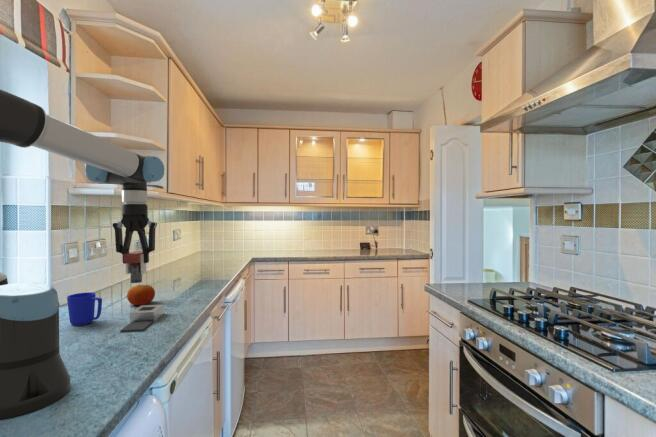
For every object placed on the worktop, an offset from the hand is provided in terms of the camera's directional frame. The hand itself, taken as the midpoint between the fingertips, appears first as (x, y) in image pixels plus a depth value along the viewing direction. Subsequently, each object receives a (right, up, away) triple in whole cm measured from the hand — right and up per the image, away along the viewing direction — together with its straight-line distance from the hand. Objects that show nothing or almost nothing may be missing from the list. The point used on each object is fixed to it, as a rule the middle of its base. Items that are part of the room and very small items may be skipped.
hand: (136, 272), depth 117 cm
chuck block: (-1, -18, +10) cm, 21 cm away
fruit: (-14, -18, +30) cm, 38 cm away
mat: (0, -18, 0) cm, 18 cm away
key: (0, -3, 0) cm, 3 cm away
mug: (-20, -19, +5) cm, 28 cm away
